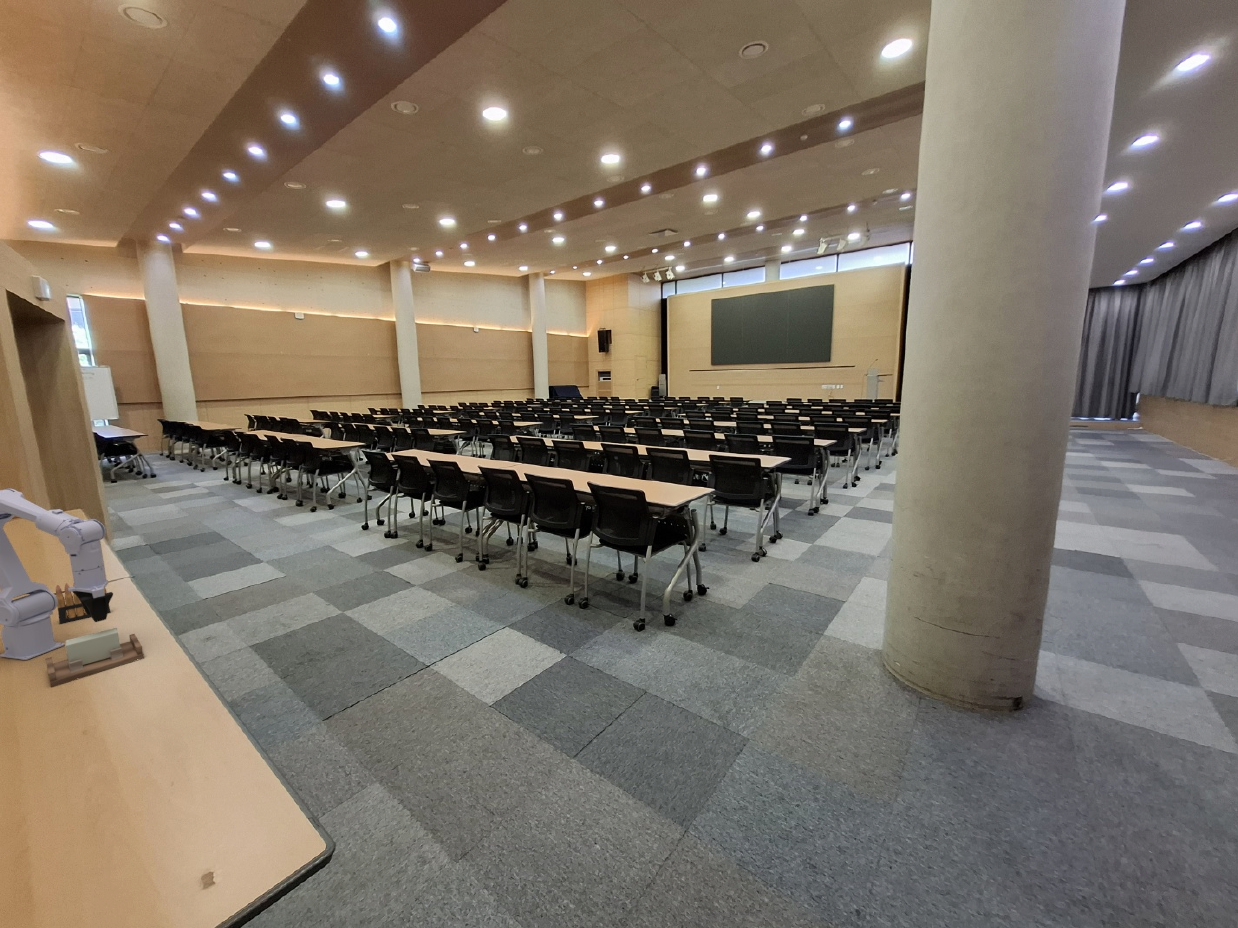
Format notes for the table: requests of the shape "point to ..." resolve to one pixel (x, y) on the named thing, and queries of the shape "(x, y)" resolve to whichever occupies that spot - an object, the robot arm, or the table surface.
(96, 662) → the brown wooden holder
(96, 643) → the tapered sage green block
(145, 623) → the table surface
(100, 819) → the table surface
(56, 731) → the table surface
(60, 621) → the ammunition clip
